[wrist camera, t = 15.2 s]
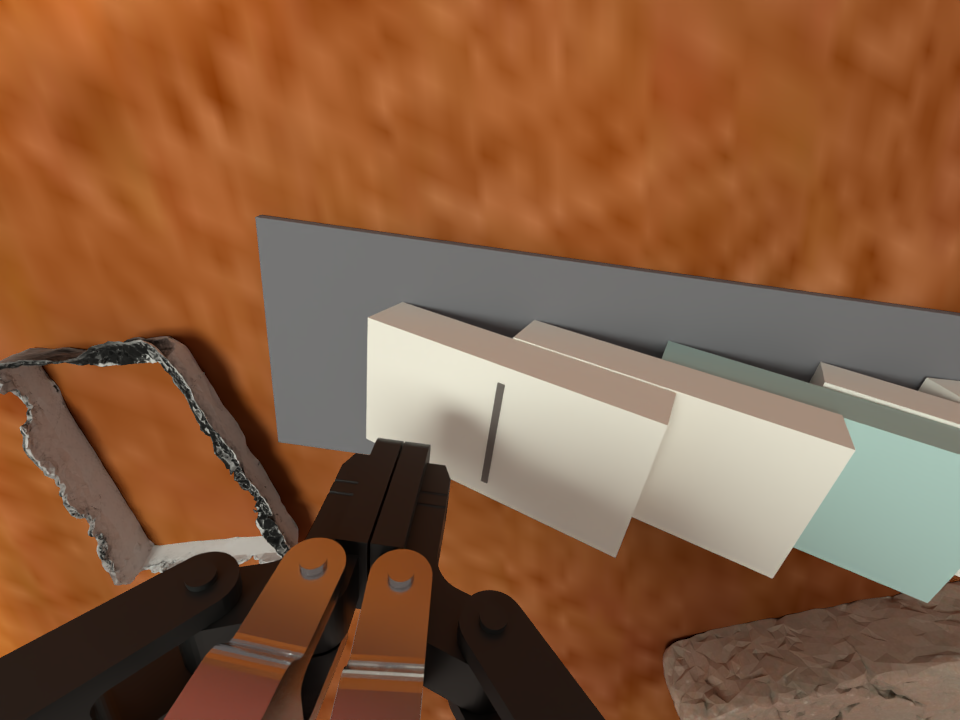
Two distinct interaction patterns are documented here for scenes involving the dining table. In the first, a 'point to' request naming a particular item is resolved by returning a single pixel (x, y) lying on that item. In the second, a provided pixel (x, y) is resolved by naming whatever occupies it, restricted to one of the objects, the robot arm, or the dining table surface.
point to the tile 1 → (516, 420)
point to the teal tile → (873, 484)
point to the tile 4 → (887, 395)
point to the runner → (549, 317)
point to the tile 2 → (724, 455)
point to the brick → (826, 664)
